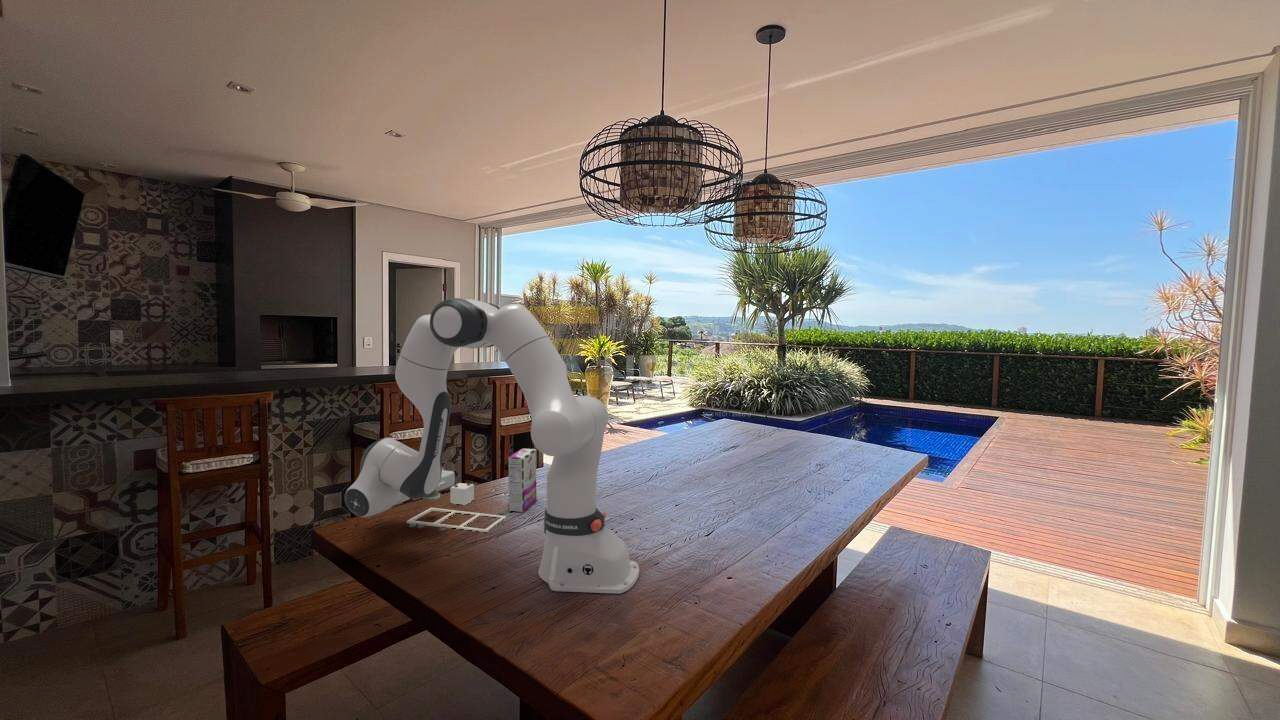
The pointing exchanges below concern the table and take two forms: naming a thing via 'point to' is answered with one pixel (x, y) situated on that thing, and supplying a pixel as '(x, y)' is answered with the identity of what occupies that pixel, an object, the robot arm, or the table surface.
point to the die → (462, 493)
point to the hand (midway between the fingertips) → (433, 469)
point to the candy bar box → (522, 479)
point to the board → (436, 524)
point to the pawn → (432, 496)
